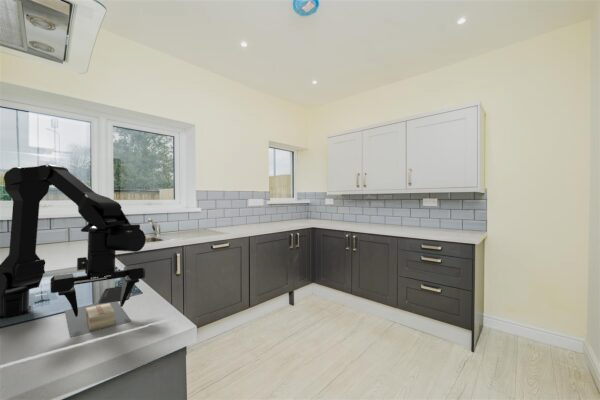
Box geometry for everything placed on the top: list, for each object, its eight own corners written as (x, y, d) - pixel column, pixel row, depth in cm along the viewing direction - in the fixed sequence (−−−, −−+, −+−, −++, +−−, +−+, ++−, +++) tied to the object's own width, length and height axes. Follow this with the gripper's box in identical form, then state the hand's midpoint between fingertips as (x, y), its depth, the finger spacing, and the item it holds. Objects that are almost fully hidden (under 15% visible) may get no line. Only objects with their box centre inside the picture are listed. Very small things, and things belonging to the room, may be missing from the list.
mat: (64, 312, 73) (64, 310, 73) (116, 301, 81) (116, 299, 81) (69, 339, 59) (69, 337, 59) (131, 323, 67) (131, 321, 67)
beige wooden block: (114, 324, 65) (114, 311, 65) (89, 330, 62) (89, 317, 62) (109, 314, 71) (109, 302, 71) (85, 319, 68) (85, 307, 68)
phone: (132, 285, 95) (128, 298, 82) (131, 288, 95) (128, 302, 82) (105, 288, 91) (97, 303, 78) (105, 291, 91) (97, 307, 78)
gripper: (135, 242, 79) (134, 294, 79) (51, 249, 66) (48, 311, 66) (146, 247, 71) (144, 305, 71) (52, 256, 58) (49, 326, 58)
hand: (100, 310), depth 67 cm, fingers open, 9 cm apart
